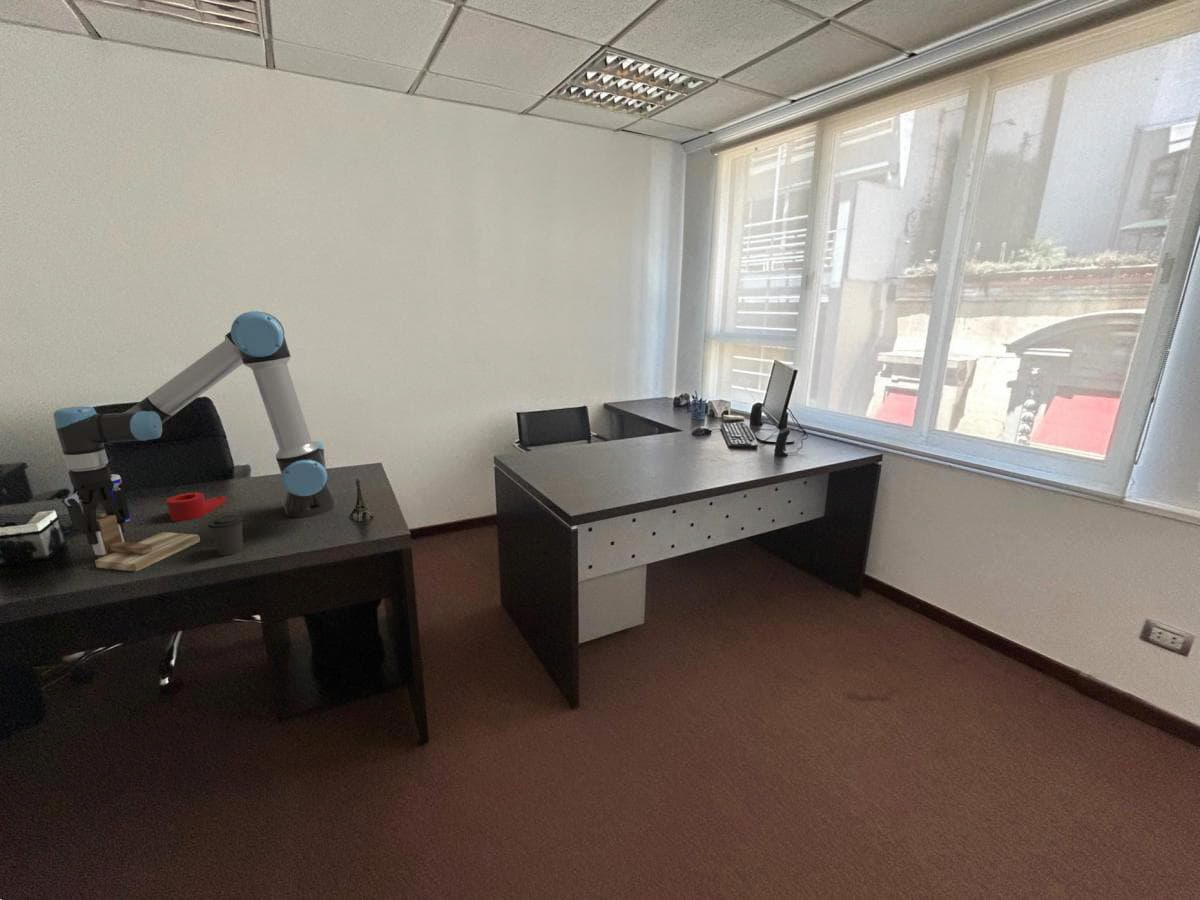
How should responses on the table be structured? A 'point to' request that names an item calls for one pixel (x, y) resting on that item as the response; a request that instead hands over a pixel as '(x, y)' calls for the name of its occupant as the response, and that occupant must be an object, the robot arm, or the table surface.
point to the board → (161, 549)
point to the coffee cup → (227, 534)
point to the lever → (191, 506)
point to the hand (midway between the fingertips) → (110, 550)
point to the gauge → (116, 537)
